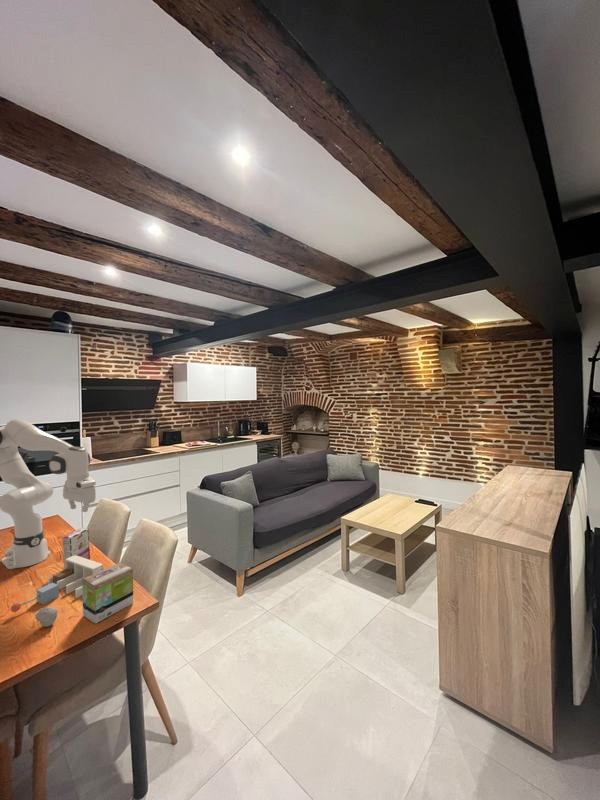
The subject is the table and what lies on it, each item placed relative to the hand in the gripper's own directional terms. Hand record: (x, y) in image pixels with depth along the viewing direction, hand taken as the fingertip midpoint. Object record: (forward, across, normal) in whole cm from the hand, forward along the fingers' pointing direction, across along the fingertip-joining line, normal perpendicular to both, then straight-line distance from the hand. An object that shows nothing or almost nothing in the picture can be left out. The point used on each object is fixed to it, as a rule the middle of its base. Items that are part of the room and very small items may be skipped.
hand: (79, 510), depth 162 cm
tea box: (+31, +38, -11) cm, 50 cm away
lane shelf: (+31, +8, -6) cm, 32 cm away
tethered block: (+31, +8, -23) cm, 39 cm away
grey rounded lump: (+31, +26, -27) cm, 49 cm away
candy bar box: (+31, -11, +4) cm, 33 cm away
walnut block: (+31, +1, -8) cm, 32 cm away
